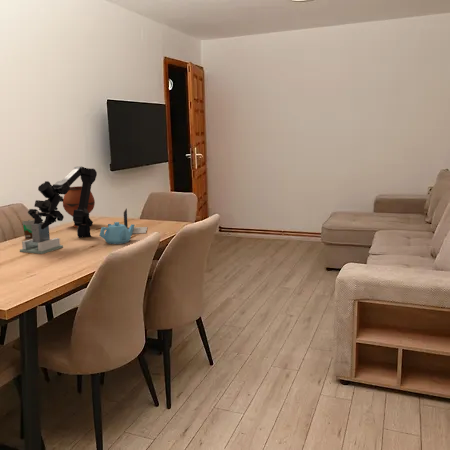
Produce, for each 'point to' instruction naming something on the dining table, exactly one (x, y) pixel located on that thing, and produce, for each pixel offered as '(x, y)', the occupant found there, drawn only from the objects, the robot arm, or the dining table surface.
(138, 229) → the laptop
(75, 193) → the brown clay vase
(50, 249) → the vise
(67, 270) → the dining table surface
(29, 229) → the food container
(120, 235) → the teapot
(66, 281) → the dining table surface
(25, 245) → the block
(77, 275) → the dining table surface
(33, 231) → the steel block
